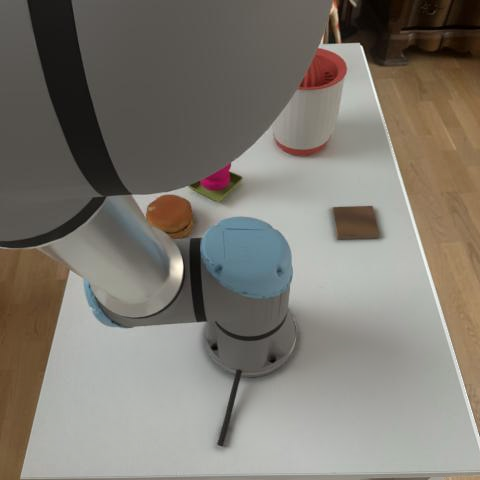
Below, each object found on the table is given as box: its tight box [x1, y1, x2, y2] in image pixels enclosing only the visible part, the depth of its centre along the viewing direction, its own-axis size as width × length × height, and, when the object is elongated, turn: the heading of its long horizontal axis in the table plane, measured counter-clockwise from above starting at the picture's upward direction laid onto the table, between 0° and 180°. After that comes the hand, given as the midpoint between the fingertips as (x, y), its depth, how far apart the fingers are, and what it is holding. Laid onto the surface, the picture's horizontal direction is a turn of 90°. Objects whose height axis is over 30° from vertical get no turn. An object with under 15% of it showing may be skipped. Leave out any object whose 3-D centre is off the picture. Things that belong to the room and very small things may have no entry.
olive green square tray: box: [187, 170, 244, 203], centre depth 94 cm, size 9×9×2 cm
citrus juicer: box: [270, 47, 348, 157], centre depth 94 cm, size 16×17×20 cm
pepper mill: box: [200, 162, 232, 191], centre depth 85 cm, size 7×7×20 cm
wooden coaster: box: [331, 205, 380, 241], centre depth 87 cm, size 8×8×1 cm
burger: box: [145, 194, 195, 239], centre depth 88 cm, size 10×9×5 cm
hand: (140, 46), depth 64 cm, fingers open, 13 cm apart
